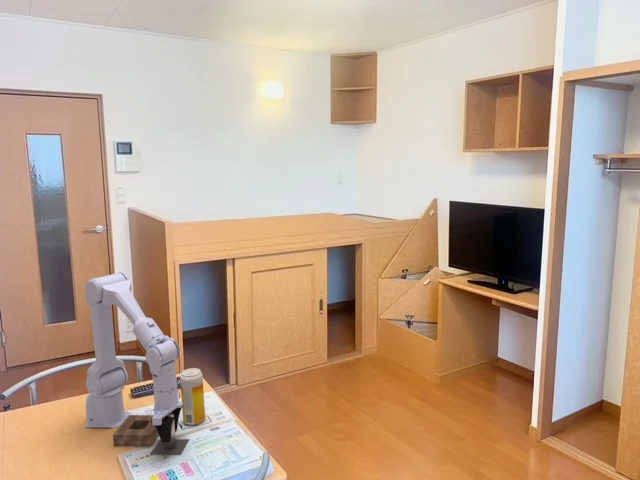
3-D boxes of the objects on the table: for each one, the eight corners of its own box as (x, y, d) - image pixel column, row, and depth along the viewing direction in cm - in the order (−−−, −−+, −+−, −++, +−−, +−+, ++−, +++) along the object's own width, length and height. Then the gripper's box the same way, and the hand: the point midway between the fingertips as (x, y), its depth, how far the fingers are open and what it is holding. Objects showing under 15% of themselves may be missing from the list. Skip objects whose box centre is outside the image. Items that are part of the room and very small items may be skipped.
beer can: (208, 416, 144) (205, 367, 141) (201, 427, 138) (197, 377, 136) (188, 415, 145) (184, 367, 142) (180, 426, 139) (176, 376, 136)
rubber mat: (149, 455, 125) (149, 454, 125) (160, 440, 132) (160, 438, 132) (180, 456, 125) (180, 454, 125) (189, 440, 132) (189, 439, 132)
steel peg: (162, 450, 127) (159, 417, 126) (166, 443, 130) (164, 411, 129) (173, 450, 127) (171, 417, 125) (177, 443, 130) (175, 411, 128)
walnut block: (114, 447, 129) (112, 434, 129) (130, 426, 139) (129, 415, 139) (151, 447, 129) (150, 435, 128) (165, 426, 139) (164, 415, 138)
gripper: (170, 401, 118) (174, 453, 121) (189, 374, 133) (193, 421, 135) (141, 401, 119) (146, 452, 121) (164, 374, 133) (167, 421, 135)
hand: (169, 436), depth 128 cm, fingers open, 4 cm apart
